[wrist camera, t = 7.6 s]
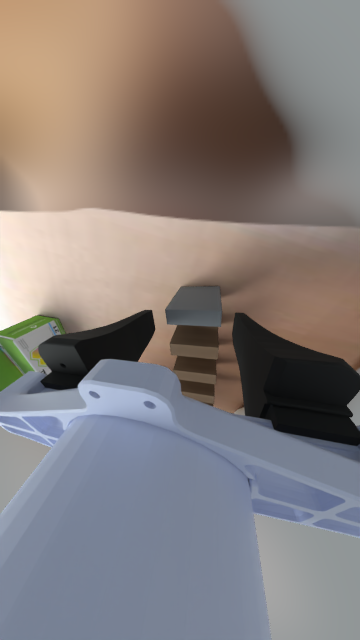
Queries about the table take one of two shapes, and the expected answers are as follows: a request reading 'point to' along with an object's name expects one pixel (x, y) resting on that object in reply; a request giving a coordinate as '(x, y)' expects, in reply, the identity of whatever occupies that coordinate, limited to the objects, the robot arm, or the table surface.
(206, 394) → the domino
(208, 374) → the domino
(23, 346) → the ink box
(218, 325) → the domino
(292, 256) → the table surface
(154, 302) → the table surface
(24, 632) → the robot arm
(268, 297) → the table surface
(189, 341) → the domino
